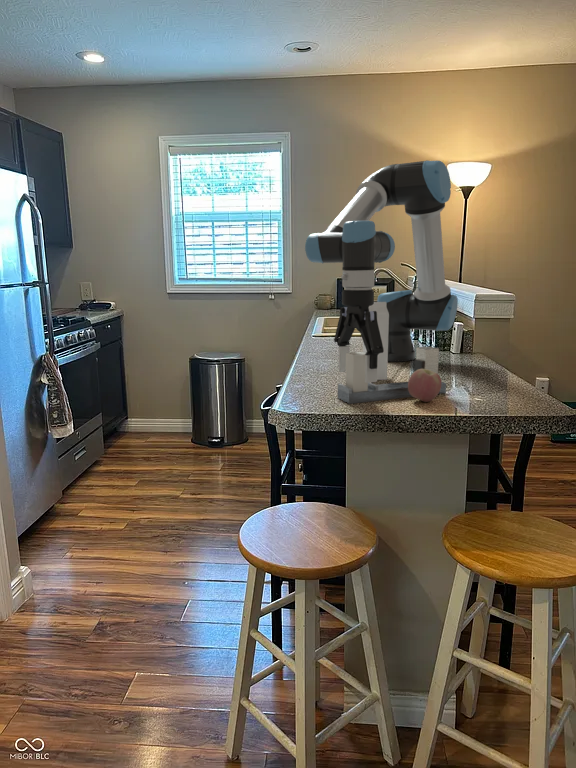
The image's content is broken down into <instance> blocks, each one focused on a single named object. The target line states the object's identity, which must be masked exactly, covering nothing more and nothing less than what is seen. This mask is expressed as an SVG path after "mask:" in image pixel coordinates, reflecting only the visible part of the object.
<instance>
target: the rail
mask: <svg viewBox="0 0 576 768" xmlns="http://www.w3.org/2000/svg"><path fill="white" fill-rule="evenodd" d="M415 351H416V352H415V359H414V363H413V364H414V367H413V372H415V371H416V370H418V369H428V370H431V371H433V372H435V373H437V374H438V375H439V357H440V356H439V355H440V348H437V347H435V346H434V347H433V346H419V347H418V346H416V348H415ZM446 393H447V383H446V382H443V381H441V389H440V391H439V393H438V395H441V394H446ZM338 398H339V399H338ZM404 398H414V397H413V396H411V395H410V393H409V391H408V381H402V382H400V381H399V382H389V383H382V384H381V383H380V384H375V383H373V382H370V383H368V391H360V392H352V388H350V387H347V386H345V384H343V383H337V399H338V400H340V399H341V400H340V401H342V400H343V401H342V402H345V403H346V402H347V403H346V404H349V405H351V404H358V403H359V404H360V403H368V402H377V401H385V400H386V401H387V400H388V401H389V400H397V399H404Z"/></svg>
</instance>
